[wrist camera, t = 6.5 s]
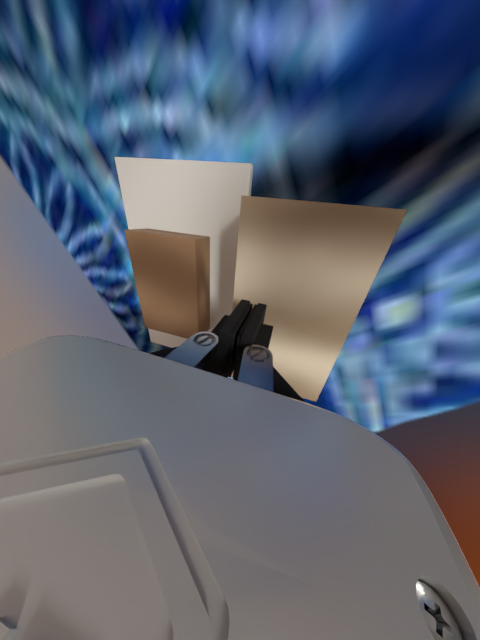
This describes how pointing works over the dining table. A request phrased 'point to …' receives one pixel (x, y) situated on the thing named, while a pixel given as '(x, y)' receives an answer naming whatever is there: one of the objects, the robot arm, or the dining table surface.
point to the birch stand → (309, 277)
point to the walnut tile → (172, 280)
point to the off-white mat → (190, 215)
